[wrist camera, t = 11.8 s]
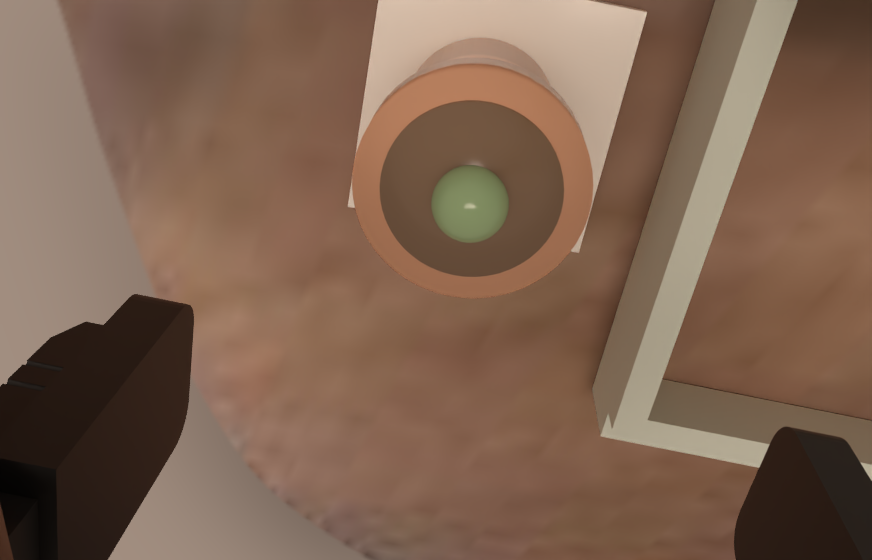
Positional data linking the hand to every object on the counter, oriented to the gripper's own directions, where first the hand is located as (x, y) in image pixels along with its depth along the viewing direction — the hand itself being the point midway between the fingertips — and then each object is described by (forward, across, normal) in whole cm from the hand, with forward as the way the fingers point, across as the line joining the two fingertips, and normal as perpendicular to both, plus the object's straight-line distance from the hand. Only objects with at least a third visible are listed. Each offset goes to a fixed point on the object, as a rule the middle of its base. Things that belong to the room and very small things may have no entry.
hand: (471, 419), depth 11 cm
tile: (+17, 0, 0) cm, 17 cm away
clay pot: (+17, 0, 0) cm, 17 cm away
